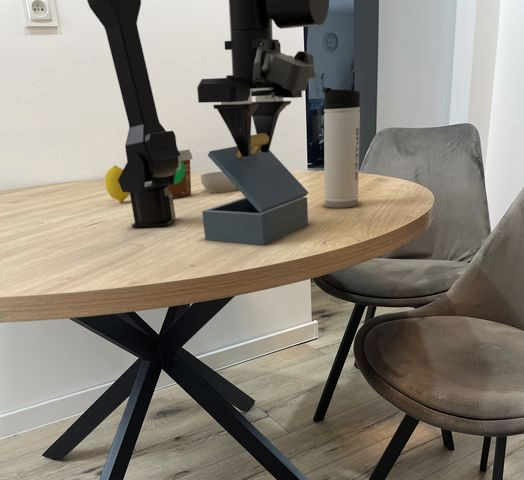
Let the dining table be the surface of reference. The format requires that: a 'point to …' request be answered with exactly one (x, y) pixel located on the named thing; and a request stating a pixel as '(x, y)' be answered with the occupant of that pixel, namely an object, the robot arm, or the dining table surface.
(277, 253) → the dining table surface
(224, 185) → the saucepan
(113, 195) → the lemon
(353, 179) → the travel mug
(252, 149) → the lid
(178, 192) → the food container
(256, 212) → the box
